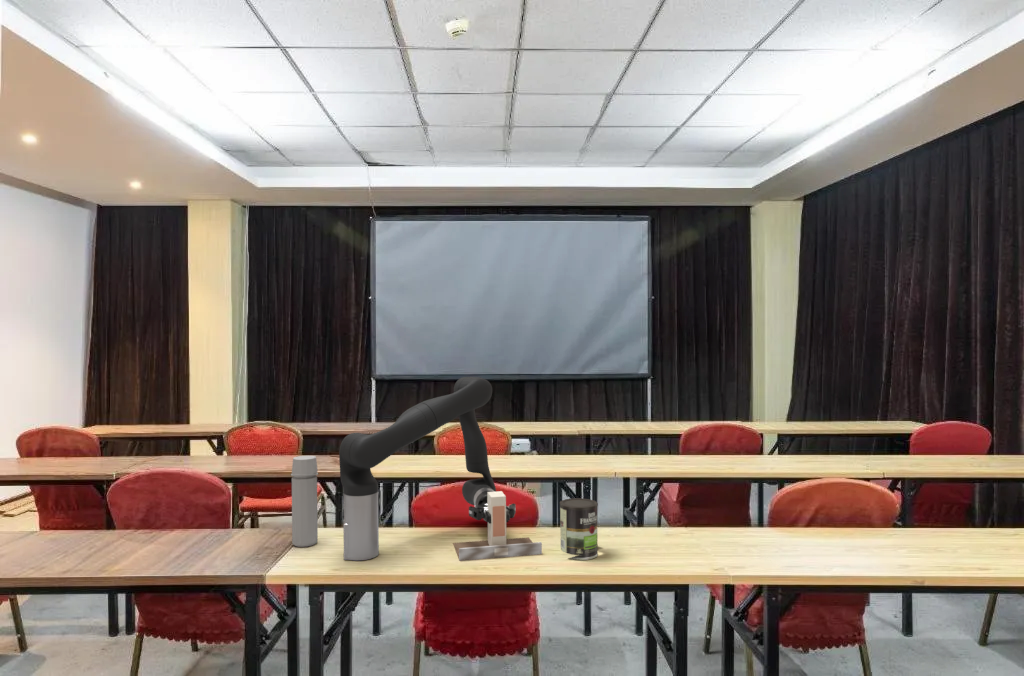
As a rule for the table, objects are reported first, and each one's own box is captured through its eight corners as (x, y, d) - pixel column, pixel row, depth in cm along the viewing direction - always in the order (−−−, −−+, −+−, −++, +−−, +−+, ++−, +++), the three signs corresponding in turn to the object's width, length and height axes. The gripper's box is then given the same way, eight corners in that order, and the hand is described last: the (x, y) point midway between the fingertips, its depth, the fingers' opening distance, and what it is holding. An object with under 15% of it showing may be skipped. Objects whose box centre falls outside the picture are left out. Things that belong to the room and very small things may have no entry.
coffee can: (606, 554, 177) (605, 502, 177) (579, 563, 170) (578, 509, 170) (578, 545, 185) (578, 496, 185) (552, 553, 178) (551, 502, 178)
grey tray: (459, 567, 169) (459, 549, 169) (452, 548, 184) (452, 532, 184) (542, 560, 173) (541, 543, 173) (528, 542, 188) (528, 526, 188)
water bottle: (314, 548, 185) (313, 460, 185) (287, 548, 185) (286, 460, 185) (324, 538, 194) (323, 454, 194) (298, 538, 194) (297, 454, 194)
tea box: (491, 549, 174) (491, 497, 174) (487, 542, 180) (487, 492, 180) (506, 548, 174) (505, 496, 174) (502, 541, 180) (501, 491, 180)
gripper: (463, 491, 190) (472, 506, 173) (511, 488, 193) (524, 503, 176) (463, 517, 190) (472, 535, 173) (511, 514, 193) (524, 531, 176)
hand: (498, 519), depth 174 cm, fingers closed on tea box, 4 cm apart
